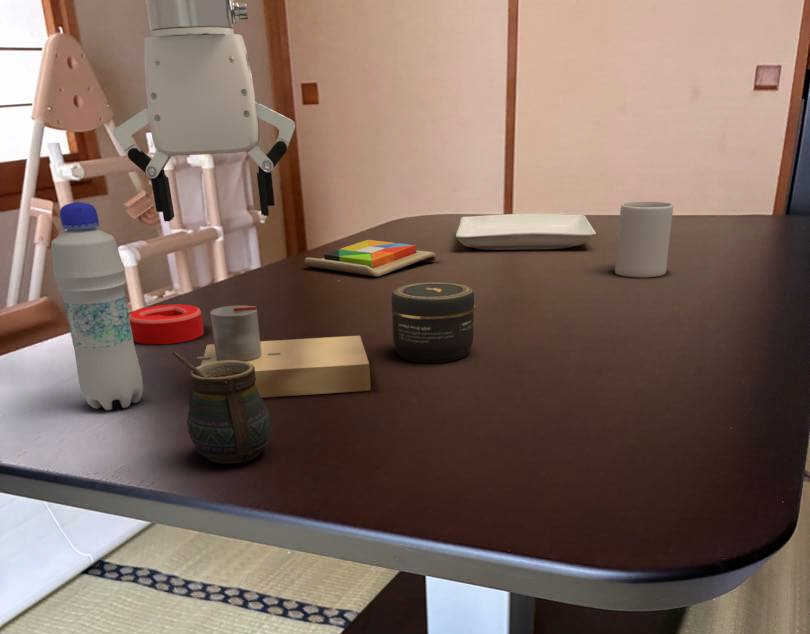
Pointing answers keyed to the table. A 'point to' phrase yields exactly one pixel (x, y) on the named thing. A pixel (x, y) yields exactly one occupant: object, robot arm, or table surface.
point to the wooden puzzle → (371, 258)
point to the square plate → (524, 231)
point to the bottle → (96, 308)
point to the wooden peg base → (308, 366)
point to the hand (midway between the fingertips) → (217, 216)
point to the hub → (236, 333)
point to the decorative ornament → (166, 324)
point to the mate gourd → (226, 411)
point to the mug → (643, 239)
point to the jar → (433, 321)
